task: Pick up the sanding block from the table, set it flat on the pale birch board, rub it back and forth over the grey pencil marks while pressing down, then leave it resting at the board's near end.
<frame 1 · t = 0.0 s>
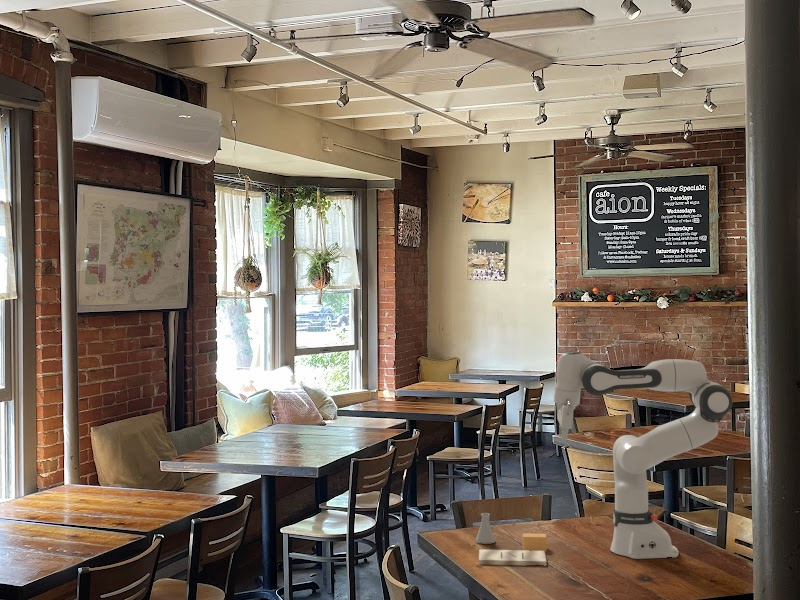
hand: (563, 437, 322), 39 cm above the table, tool pointing down, fingers open, 8 cm apart
birch board: (512, 559, 311), on the table
sanding block: (534, 549, 323), on the table
flask: (485, 542, 333), on the table
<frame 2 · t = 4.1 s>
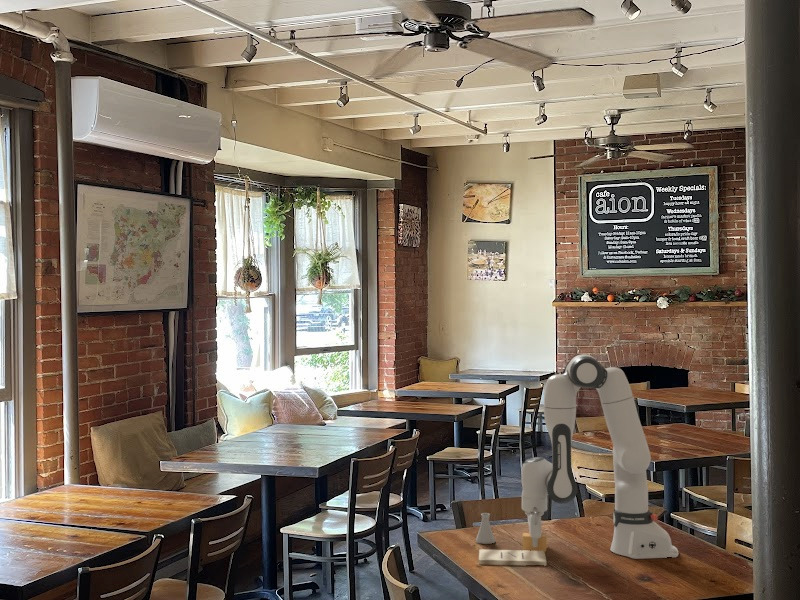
hand: (534, 544, 323), 2 cm above the table, tool pointing down, fingers closed on sanding block, 5 cm apart
sanding block: (534, 549, 323), on the table, touching gripper
everything else where it was.
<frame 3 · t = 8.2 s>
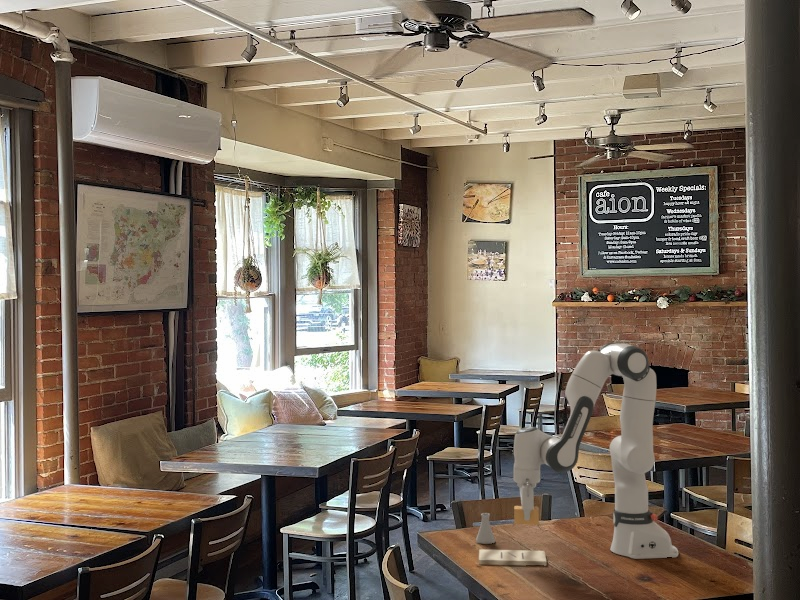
hand: (526, 517, 310), 14 cm above the table, tool pointing down, fingers closed on sanding block, 4 cm apart
sanding block: (526, 522, 310), point 13 cm above the table, touching gripper
everything else where it was.
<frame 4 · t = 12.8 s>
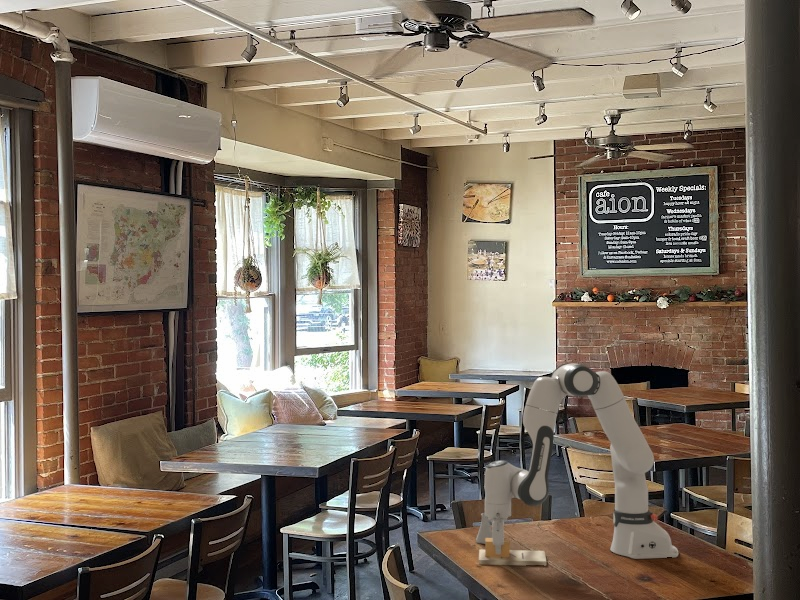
hand: (498, 551, 312), 3 cm above the table, tool pointing down, fingers closed on sanding block, 4 cm apart
sanding block: (497, 554, 312), point 2 cm above the table, touching gripper
everything else where it was.
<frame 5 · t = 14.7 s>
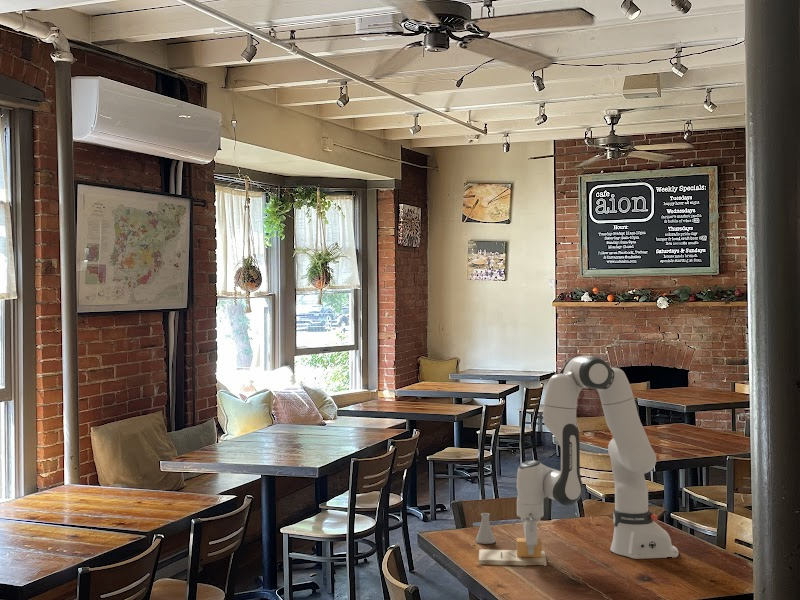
hand: (530, 551, 311), 3 cm above the table, tool pointing down, fingers closed on sanding block, 4 cm apart
sanding block: (529, 554, 311), point 2 cm above the table, touching gripper
everything else where it was.
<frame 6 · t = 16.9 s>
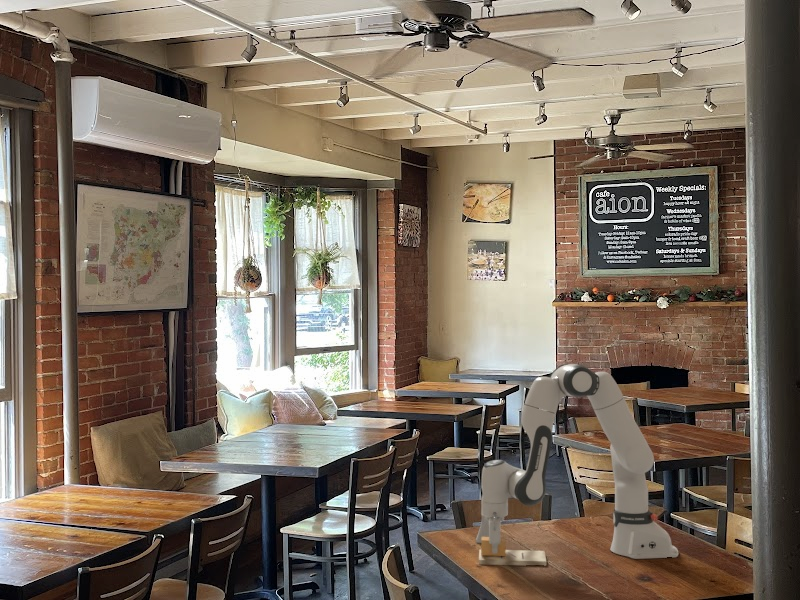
hand: (494, 550, 312), 3 cm above the table, tool pointing down, fingers closed on sanding block, 4 cm apart
sanding block: (493, 553, 312), point 2 cm above the table, touching gripper
everything else where it was.
when the fingers open (3 cm above the table, at t = 20.3 s): sanding block stays where it is, resting on birch board.
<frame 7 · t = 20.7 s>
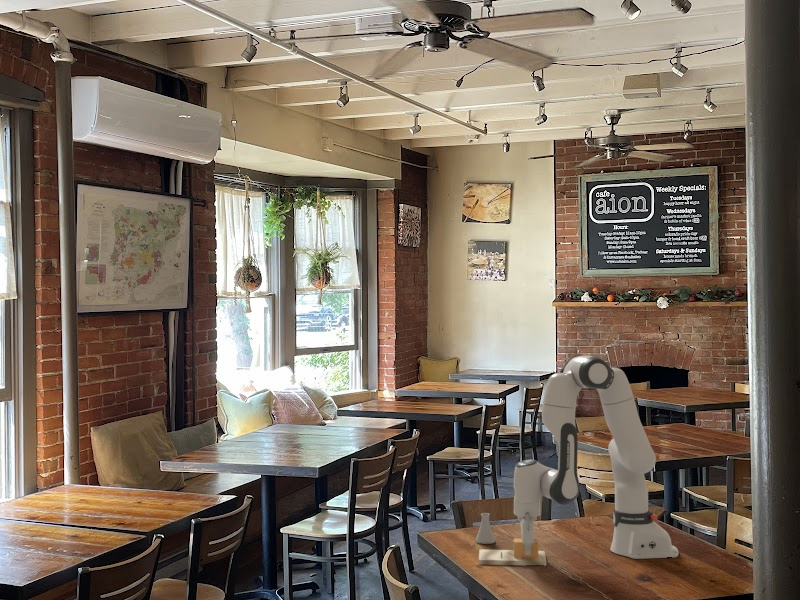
hand: (527, 550, 311), 3 cm above the table, tool pointing down, fingers open, 8 cm apart
sanding block: (525, 555, 311), point 2 cm above the table, touching birch board
everything else where it was.
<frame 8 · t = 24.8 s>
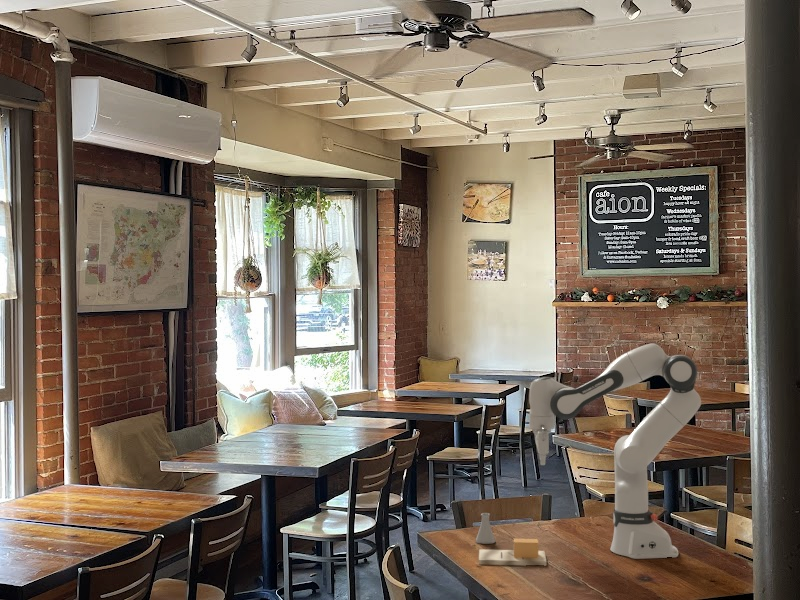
hand: (542, 462, 328), 29 cm above the table, tool pointing down, fingers open, 8 cm apart
nothing on the table moved.
at the end: sanding block inside the target area on the birch board (0.4 cm from its centre), point 1.5 cm above the birch board's base; the gripper is holding nothing; sanding block tilted 0° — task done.
